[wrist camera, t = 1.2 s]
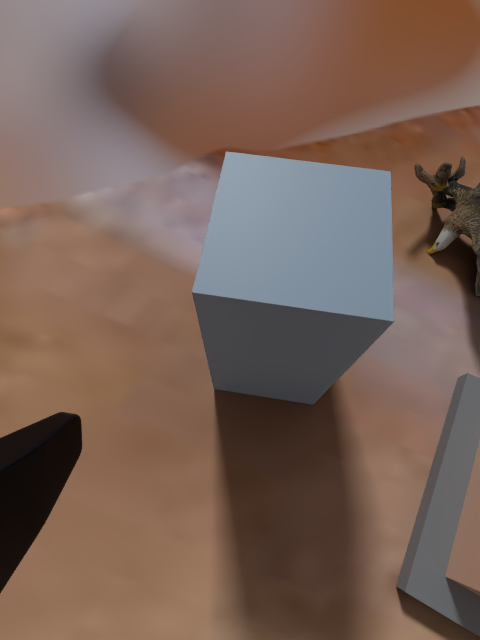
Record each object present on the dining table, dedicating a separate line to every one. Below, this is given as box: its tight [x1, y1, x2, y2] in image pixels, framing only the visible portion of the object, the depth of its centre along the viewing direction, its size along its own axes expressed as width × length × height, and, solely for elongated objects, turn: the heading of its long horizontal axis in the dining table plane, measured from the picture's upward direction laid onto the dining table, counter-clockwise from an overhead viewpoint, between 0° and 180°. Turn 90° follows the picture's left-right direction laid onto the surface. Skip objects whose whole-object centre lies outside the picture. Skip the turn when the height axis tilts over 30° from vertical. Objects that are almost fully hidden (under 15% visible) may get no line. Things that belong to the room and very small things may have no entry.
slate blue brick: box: [192, 152, 394, 405], centre depth 17 cm, size 6×6×12 cm
